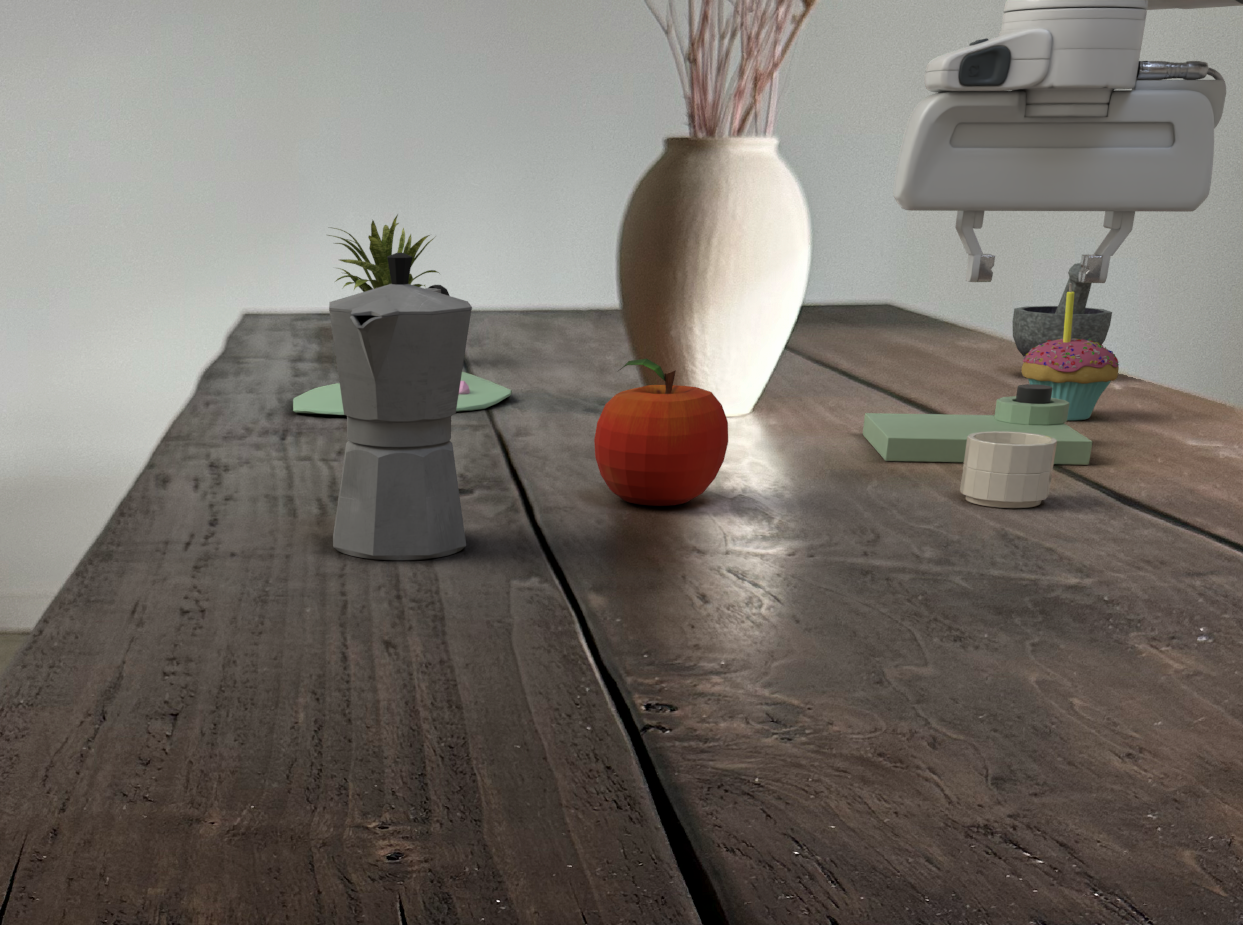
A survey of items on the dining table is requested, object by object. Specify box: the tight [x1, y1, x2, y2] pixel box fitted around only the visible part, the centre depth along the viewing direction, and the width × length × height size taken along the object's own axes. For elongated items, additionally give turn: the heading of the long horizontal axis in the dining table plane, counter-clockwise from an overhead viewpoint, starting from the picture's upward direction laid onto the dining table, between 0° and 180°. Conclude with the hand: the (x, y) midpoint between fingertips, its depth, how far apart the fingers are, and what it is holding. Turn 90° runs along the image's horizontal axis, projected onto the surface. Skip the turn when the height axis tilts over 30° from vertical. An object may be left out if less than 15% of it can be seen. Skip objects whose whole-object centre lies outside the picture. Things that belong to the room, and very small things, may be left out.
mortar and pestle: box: [1011, 262, 1113, 376], centre depth 182 cm, size 11×9×12 cm
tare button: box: [1015, 383, 1052, 404], centre depth 145 cm, size 3×3×2 cm
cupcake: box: [1021, 283, 1120, 421], centre depth 157 cm, size 9×8×12 cm
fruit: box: [593, 358, 729, 507], centre depth 122 cm, size 10×10×10 cm
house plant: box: [327, 214, 442, 292], centre depth 193 cm, size 14×14×16 cm
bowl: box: [959, 431, 1057, 509], centre depth 123 cm, size 6×6×4 cm
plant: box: [292, 371, 513, 416], centre depth 168 cm, size 25×21×9 cm
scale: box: [862, 395, 1093, 466], centre depth 143 cm, size 16×13×4 cm
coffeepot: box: [328, 252, 473, 561], centre depth 109 cm, size 15×9×18 cm, turn 159°
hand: (1034, 282), depth 118 cm, fingers open, 6 cm apart
